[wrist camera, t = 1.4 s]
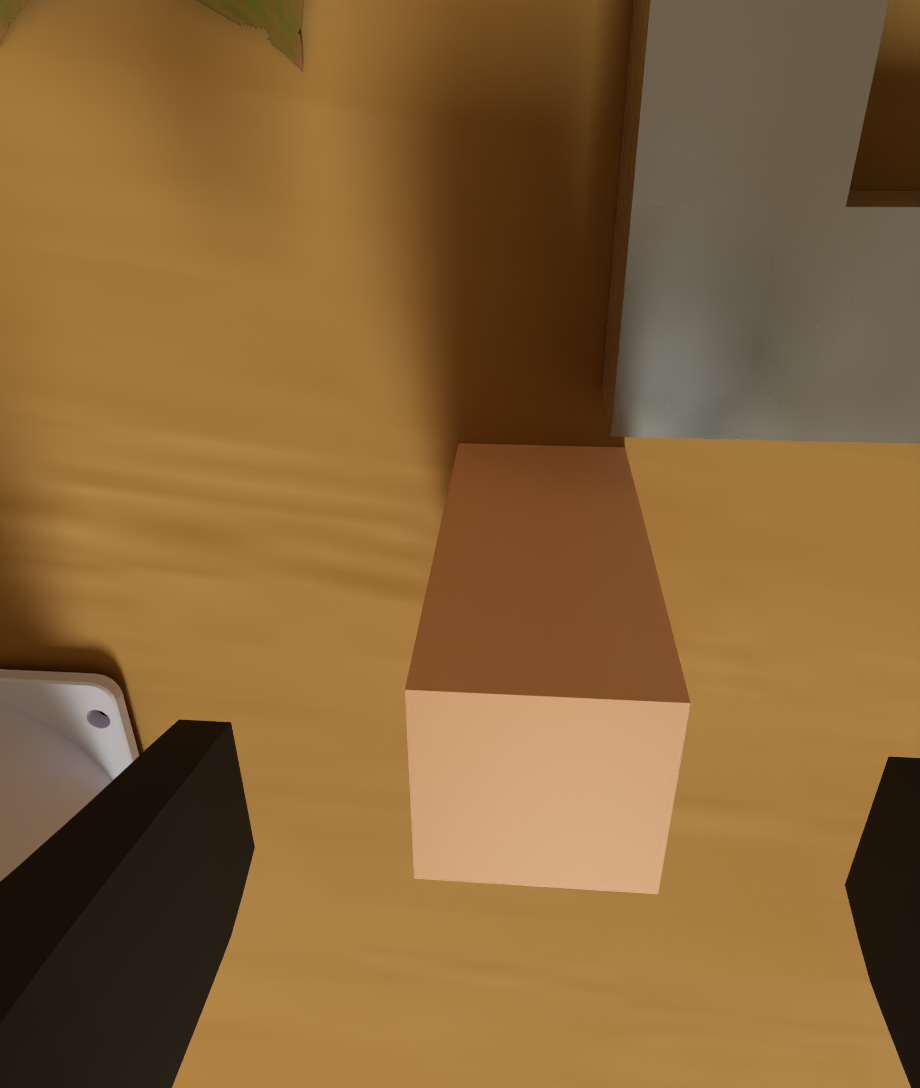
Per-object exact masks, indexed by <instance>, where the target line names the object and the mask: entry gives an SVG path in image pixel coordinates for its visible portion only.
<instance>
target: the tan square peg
mask: <svg viewBox="0 0 920 1088" xmlns="http://www.w3.org/2000/svg"><path fill="white" fill-rule="evenodd" d="M405 700H406V721H407V741H408V761H409V781H410V801H411V821H412V841H413V861H414V879H430V880H446V881H461V882H477V883H492V884H508V885H524V886H539V887H555V888H570V889H586V890H602V891H617V892H633V893H648V894H658V891H659V885H660V879H661V873H662V867H663V861H664V856H665V850H666V844H667V838H668V832H669V826H670V820H671V815H672V809H673V803H674V797H675V791H676V785H677V779H678V774H679V768H680V762H681V756H682V750H683V744H684V738H685V732H686V727H687V721H688V715H689V709H690V699H689V695H688V692H687V688H686V684H685V680H684V676H683V672H682V668H681V664H680V660H679V657H678V653H677V649H676V645H675V641H674V637H673V633H672V629H671V625H670V621H669V618H668V614H667V610H666V606H665V602H664V598H663V594H662V590H661V586H660V582H659V579H658V575H657V571H656V567H655V563H654V559H653V555H652V551H651V547H650V543H649V540H648V536H647V532H646V528H645V524H644V520H643V516H642V512H641V508H640V504H639V501H638V497H637V493H636V489H635V485H634V481H633V477H632V473H631V469H630V466H629V462H628V458H627V454H626V450H625V447H594V446H553V445H513V444H472V443H458V447H457V452H456V456H455V461H454V466H453V470H452V475H451V479H450V484H449V489H448V493H447V498H446V503H445V507H444V512H443V516H442V521H441V526H440V530H439V535H438V539H437V544H436V549H435V553H434V558H433V563H432V567H431V572H430V576H429V581H428V586H427V590H426V595H425V600H424V604H423V609H422V613H421V618H420V623H419V627H418V632H417V637H416V641H415V646H414V650H413V655H412V660H411V664H410V669H409V673H408V678H407V683H406V687H405Z"/></svg>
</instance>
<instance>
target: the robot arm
mask: <svg viewBox="0 0 920 1088" xmlns="http://www.w3.org/2000/svg"><path fill="white" fill-rule="evenodd" d="M97 710H98V711H102V712H103V713H105V714H106V715H107V716H105V715H102V714H101V713H99V712H98V711H97ZM254 848H255V846H254V841H253V836H252V831H251V825H250V820H249V815H248V810H247V804H246V799H245V794H244V788H243V783H242V778H241V773H240V767H239V762H238V757H237V751H236V746H235V741H234V736H233V730H232V725H231V722H215V721H195V720H178V721H177V722H176V723H175V724H174V725H173V726H172V727H170V728H169V729H168V730H167V731H166V732H165V733H164V734H163V735H162V736H160V737H159V738H158V739H157V740H156V741H155V742H154V743H153V744H151V745H150V746H149V747H148V748H147V749H146V750H145V751H144V752H143V753H142V754H141V755H140V756H139V753H138V749H137V745H136V742H135V738H134V734H133V730H132V727H131V723H130V719H129V715H128V712H127V708H126V704H125V700H124V697H123V693H122V691H121V689H120V687H119V685H118V684H117V683H116V682H115V681H114V680H113V679H111V678H109V677H107V676H105V675H100V674H93V673H72V672H50V671H28V670H6V669H0V1088H172V1086H173V1083H174V1081H175V1078H176V1076H177V1073H178V1071H179V1068H180V1065H181V1063H182V1060H183V1058H184V1055H185V1053H186V1050H187V1048H188V1045H189V1043H190V1040H191V1038H192V1035H193V1033H194V1030H195V1028H196V1025H197V1023H198V1020H199V1017H200V1015H201V1012H202V1010H203V1007H204V1005H205V1002H206V1000H207V997H208V994H209V992H210V989H211V987H212V984H213V982H214V979H215V976H216V974H217V971H218V969H219V966H220V964H221V961H222V958H223V956H224V953H225V950H226V948H227V945H228V943H229V940H230V937H231V934H232V931H233V927H234V923H235V920H236V916H237V913H238V909H239V906H240V902H241V898H242V895H243V891H244V887H245V883H246V879H247V875H248V871H249V867H250V864H251V860H252V856H253V852H254ZM845 887H846V891H847V895H848V899H849V903H850V907H851V911H852V915H853V919H854V923H855V927H856V931H857V935H858V939H859V943H860V946H861V950H862V953H863V957H864V961H865V964H866V968H867V971H868V975H869V979H870V982H871V985H872V987H873V990H874V993H875V995H876V998H877V1001H878V1003H879V1006H880V1009H881V1011H882V1014H883V1017H884V1019H885V1022H886V1024H887V1027H888V1029H889V1032H890V1035H891V1037H892V1040H893V1042H894V1045H895V1047H896V1050H897V1053H898V1055H899V1058H900V1060H901V1063H902V1066H903V1068H904V1071H905V1073H906V1076H907V1078H908V1081H909V1083H910V1086H911V1088H920V758H906V757H888V760H887V763H886V766H885V769H884V772H883V775H882V778H881V781H880V784H879V787H878V789H877V792H876V795H875V798H874V801H873V804H872V807H871V810H870V813H869V816H868V819H867V822H866V825H865V828H864V831H863V834H862V836H861V839H860V842H859V845H858V848H857V851H856V854H855V857H854V860H853V863H852V866H851V869H850V872H849V875H848V878H847V880H846V883H845Z"/></svg>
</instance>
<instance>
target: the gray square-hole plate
mask: <svg viewBox="0 0 920 1088" xmlns="http://www.w3.org/2000/svg"><path fill="white" fill-rule="evenodd" d="M888 4H889V0H634V1H633V13H632V25H631V37H630V50H629V62H628V74H627V86H626V98H625V111H624V123H623V135H622V147H621V159H620V171H619V184H618V196H617V208H616V220H615V232H614V245H613V257H612V269H611V281H610V293H609V305H608V318H607V330H606V342H605V354H604V366H603V379H602V391H601V395H602V399H603V404H604V408H605V412H606V417H607V421H608V425H609V430H610V434H611V436H617V437H661V438H704V439H747V440H791V441H834V442H877V443H920V191H849V189H850V184H851V180H852V175H853V170H854V165H855V161H856V156H857V151H858V146H859V142H860V137H861V132H862V127H863V123H864V118H865V113H866V108H867V104H868V99H869V94H870V89H871V85H872V80H873V75H874V70H875V66H876V61H877V56H878V51H879V47H880V42H881V37H882V32H883V28H884V23H885V18H886V13H887V9H888Z"/></svg>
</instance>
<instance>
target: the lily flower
mask: <svg viewBox="0 0 920 1088" xmlns="http://www.w3.org/2000/svg"><path fill="white" fill-rule="evenodd" d="M27 1H28V0H0V45H1V43H2V41H3V39H4V37H5V34H6V32H7V28H8V26H9V23H10V22H9V19H14V18H15V17H16V15H17V14H18V13H19V11H20V10H21V9H22V7H23V6H24V5H25V3H26V2H27ZM198 1H199V2H201V3H203V4H204V5H206V6H207V7H209V8H211V9H212V10H214V11H216V12H218V13H219V14H221V15H223V16H224V17H226V18H228V19H230V20H231V21H233V22H235V23H236V24H238V25H242V24H243V25H246V24H247V25H248V24H249V23H250V25H251V27H252V26H254V27H255V28H257V27H260V28H264V29H266V28H267V33H269V35H270V37H269V38H268V40H270V41H271V44H273V46H275V47H276V48H277V49H278V50H279V51H281V52H282V53H283V54H284V55H286V56H287V57H288V58H289V59H290V60H291V61H292V62H293V63H294V64H295V65H296V66H297V67H298V68H299V69H300V70H301V71H302V72H303V59H302V57H303V56H302V44H301V37H300V34H298V31H299V30H300V29H301V27H302V16H303V4H304V0H198Z"/></svg>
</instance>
